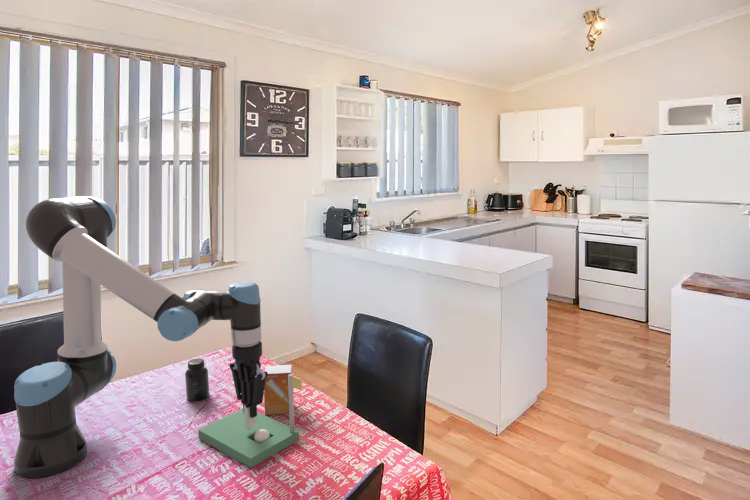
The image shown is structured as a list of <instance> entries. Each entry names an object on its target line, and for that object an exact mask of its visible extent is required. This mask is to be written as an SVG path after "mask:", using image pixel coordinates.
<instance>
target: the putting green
mask: <svg viewBox="0 0 750 500" xmlns="http://www.w3.org/2000/svg"><path fill="white" fill-rule="evenodd" d="M302 380H303V379H302V378H300V377H297V376H295V375H293V373H292V374H289V375H288V385H289V414H288V415H289V425H286V424H284V423H282V422H280V421H278V420H276V419H274V418H271V417H269V416H268V415H265V414H263V413H260V412H259V411H257V416H256V421H257V426H255V427H253V428H251V429H250V430H248V429H245V419H244V412H243V408H242V409H240V410H238V411H235V412H233V413H232V414H229V415H227V416H225V417H223V418H220V419H218V420H216V421H214V422H212V423H209V424H208V425H206V426H203V427H202V428H201V427H200V428H199V429H197V430H198V431H197V432H198V439H199V440H201V441H202V442H205V443H206V444H207V445H210V446H212V447H213V448H215V449H217V450H219V452H221V453H224V454H226V455H227V456H229V457H231V458H232V459H234V460H236V461H238V462H240V463H241V464H243V465H245V466H247V467H248V468H250V469H252V468H253V467H256V466H257V465H259V464H260V463H262V462H264V461H266V460H267V459H269V458H271V457H272V456H274V455H276V454H278V453H279V452H281V451H282V450H284V449H286V448H288V447H289V446H291V445H293V444H295V443H296V442H298V441H299V440H300V430H298V429H295V404H294V403H295V401H294V389H297V390H300V391H302V390H303V381H302ZM260 429H265V430H267V431H268V432H269V434H270V438H269V439H267V440H265V441H263V442H262V443H260V444H259V443H257V442H255V440H254V435H255V433H256V432H257V431H258V430H260Z"/></svg>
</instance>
